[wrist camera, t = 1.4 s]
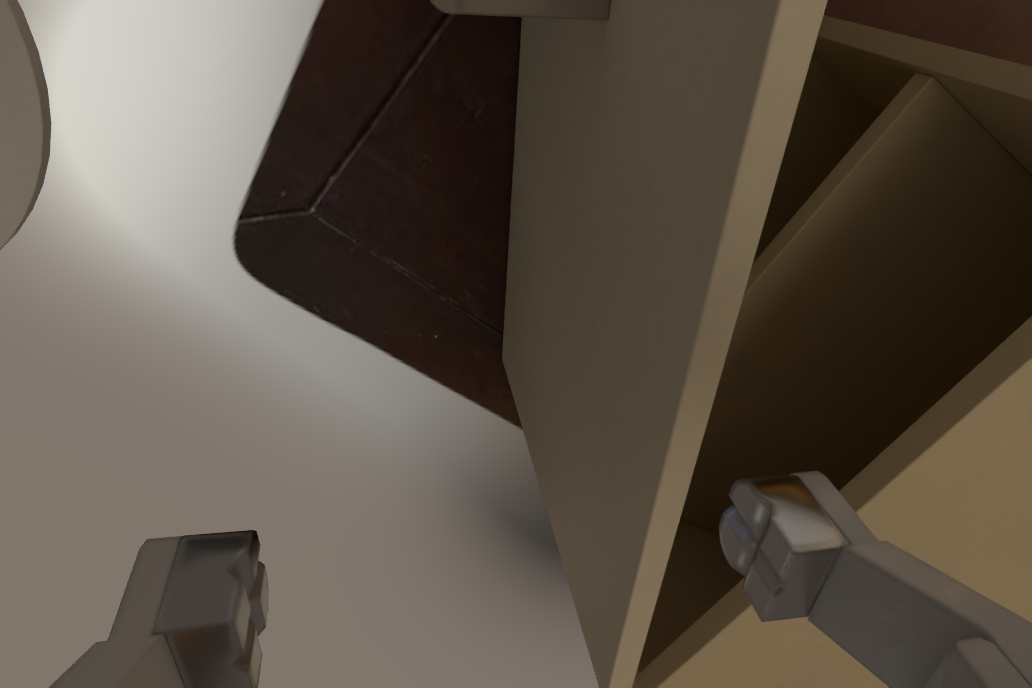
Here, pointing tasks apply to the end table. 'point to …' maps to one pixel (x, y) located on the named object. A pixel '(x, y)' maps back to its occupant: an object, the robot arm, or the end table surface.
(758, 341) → the cupboard
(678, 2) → the door
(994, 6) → the end table surface
